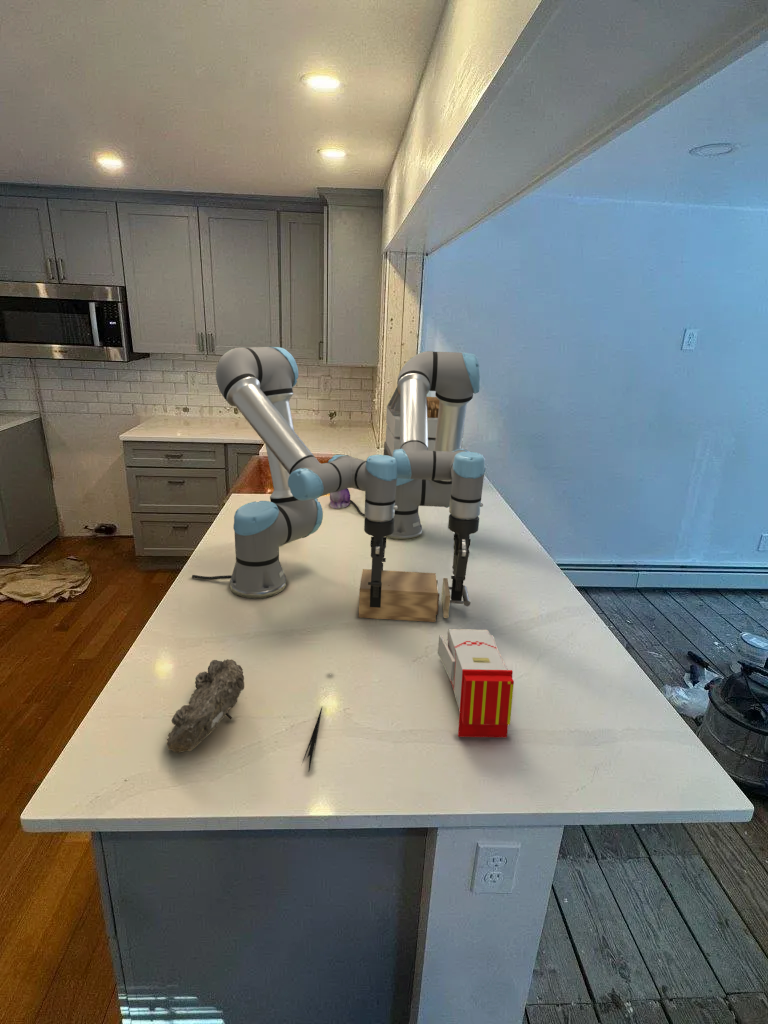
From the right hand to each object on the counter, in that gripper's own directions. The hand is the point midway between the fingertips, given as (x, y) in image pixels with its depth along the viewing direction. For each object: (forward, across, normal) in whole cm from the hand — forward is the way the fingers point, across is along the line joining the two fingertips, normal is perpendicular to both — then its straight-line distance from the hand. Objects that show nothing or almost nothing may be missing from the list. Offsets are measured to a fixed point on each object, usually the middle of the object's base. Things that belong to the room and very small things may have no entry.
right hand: (456, 599), depth 148 cm
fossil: (+4, -45, +50) cm, 68 cm away
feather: (+4, -44, +30) cm, 53 cm away
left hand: (0, 0, +21) cm, 21 cm away
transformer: (+3, +133, +6) cm, 133 cm away
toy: (+4, -33, 0) cm, 33 cm away
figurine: (+3, +80, +39) cm, 89 cm away
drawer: (+3, 0, +9) cm, 9 cm away
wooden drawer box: (+4, 0, +15) cm, 16 cm away
